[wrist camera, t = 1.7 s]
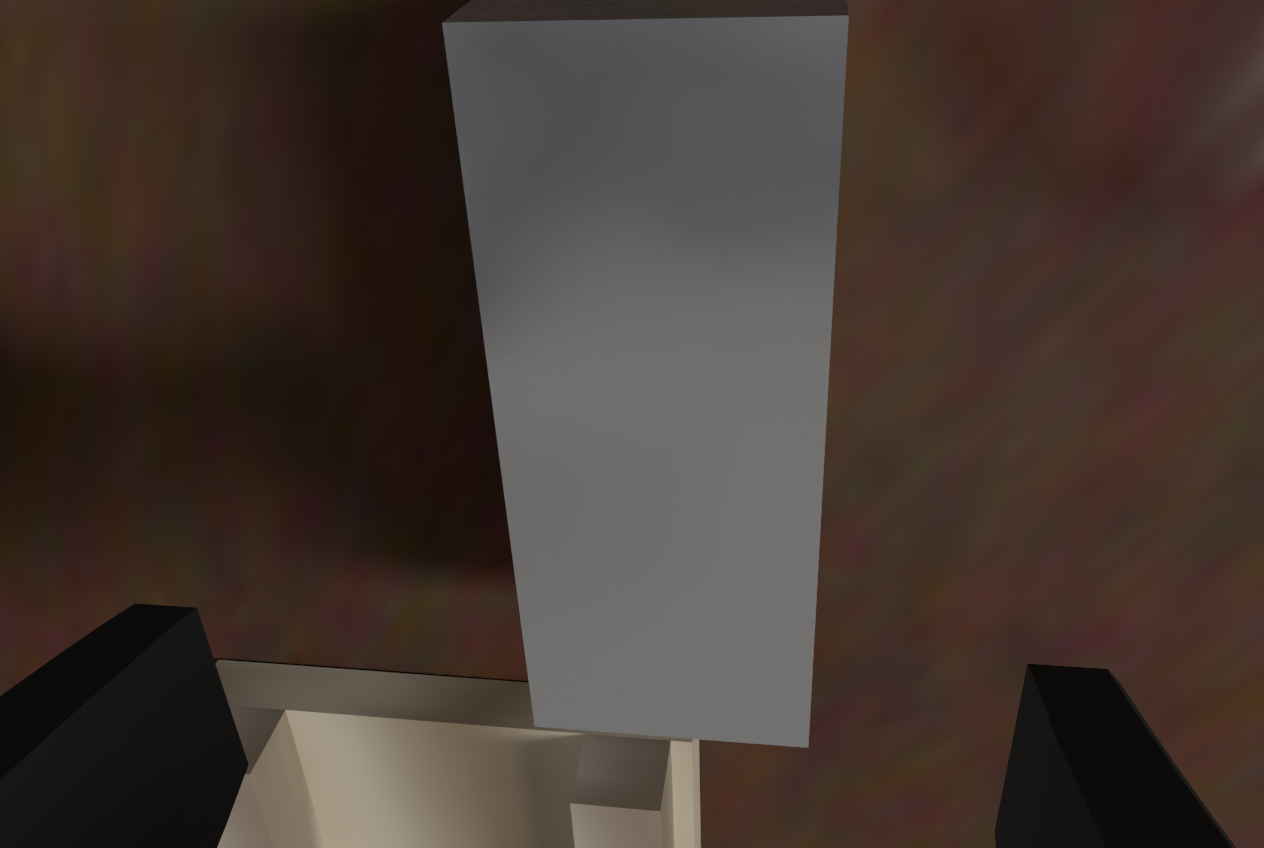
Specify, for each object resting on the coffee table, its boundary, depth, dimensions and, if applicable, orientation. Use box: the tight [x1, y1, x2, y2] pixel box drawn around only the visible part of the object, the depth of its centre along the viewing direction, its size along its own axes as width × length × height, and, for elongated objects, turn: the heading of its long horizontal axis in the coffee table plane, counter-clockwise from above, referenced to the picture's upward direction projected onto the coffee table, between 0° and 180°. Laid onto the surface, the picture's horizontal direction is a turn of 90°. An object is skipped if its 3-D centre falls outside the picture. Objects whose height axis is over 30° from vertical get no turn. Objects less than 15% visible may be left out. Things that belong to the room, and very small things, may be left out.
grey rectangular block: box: [442, 0, 849, 748], centre depth 15 cm, size 4×10×4 cm, turn 2°
